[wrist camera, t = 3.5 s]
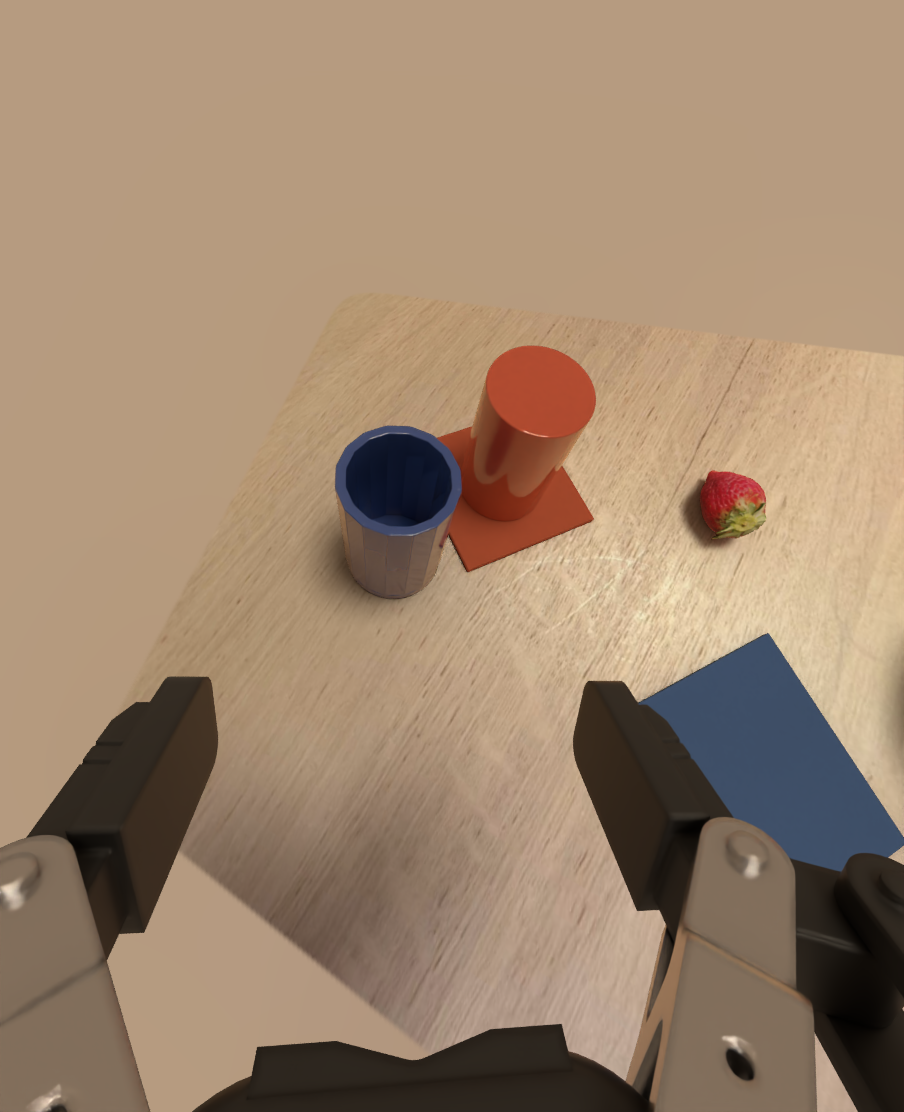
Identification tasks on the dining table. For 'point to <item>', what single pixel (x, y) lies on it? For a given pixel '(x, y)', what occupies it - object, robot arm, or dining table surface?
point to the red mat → (499, 539)
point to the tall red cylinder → (524, 430)
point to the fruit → (732, 504)
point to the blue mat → (776, 757)
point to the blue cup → (396, 508)
